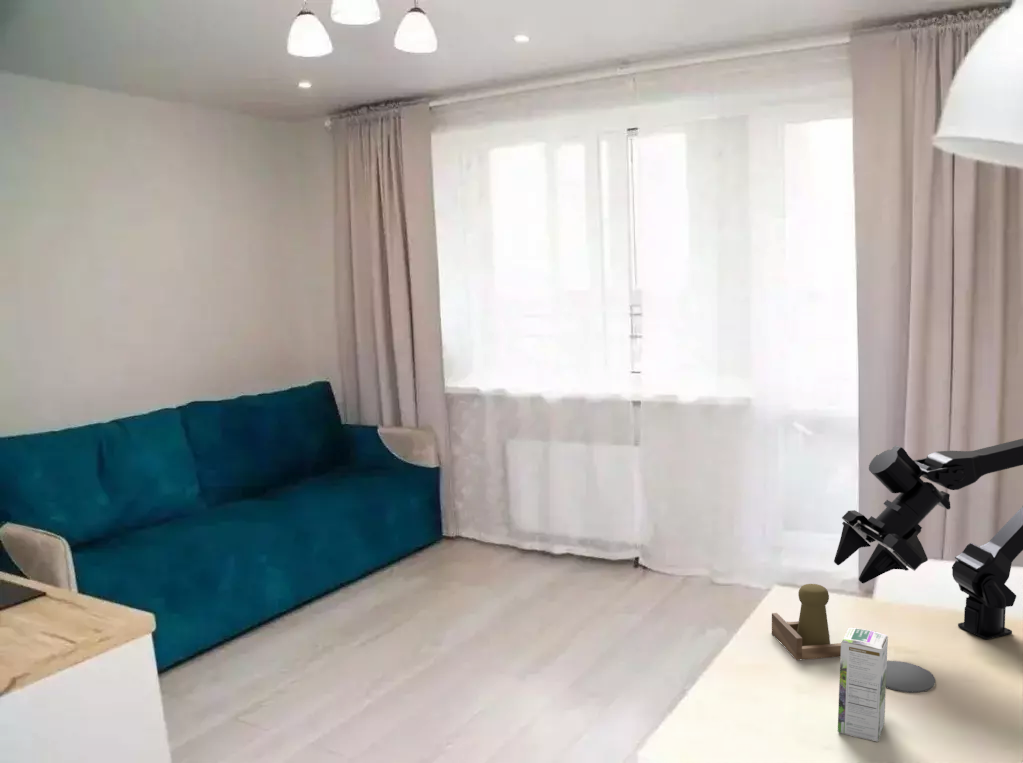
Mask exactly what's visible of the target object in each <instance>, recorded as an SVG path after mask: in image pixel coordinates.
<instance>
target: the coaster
mask: <svg viewBox="0 0 1023 763" xmlns="http://www.w3.org/2000/svg"><path fill="white" fill-rule="evenodd" d="M935 685H936V677H935V675H934V674H933V673H932V672H931V671H929V670H928V669H926V668H924V667H922V666H920V665H917V664H914V663H910V662H906V661H900V660H887V672H886V689H890V690H894V691H896V692H903V693H922V692H926V691H930V690H932V689H933V688H934V687H935Z"/></svg>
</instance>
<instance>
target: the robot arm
mask: <svg viewBox="0 0 1023 763" xmlns="http://www.w3.org/2000/svg"><path fill="white" fill-rule="evenodd" d="M1020 466H1023V438H1020V439H1016V440H1011V441H1007V442H1004V443H999V444H996V445H992V446H987V447H986V446H985V447H983V448H980V449H979V448H978V449H975V450H969V451H966V450H941V451H939V450H938V451H934V452H931V453H929V454H928V455H927V456H926V457H924V458H918V459H913V458H912V457H911V456H909V454H908V453H907V451H906V450H905V449H904V448H903V447H901V446H900V445H896V444H895V445H894V446H893V447H892V448H891V449H887V450H884V451H882V452H881V453H879V454H876V455H875V456H874V457H873V458H872V459H871V461H870V463H869V465H868V470H869V472H870V474H872V475H873V476H874V477H875V478H876V479H877V480H878V481H879V482H880V484H882V486H884V487H885V488H886V489H887V490H888V491H889V492H890V493H892V494H898V495H897V496H896V497H895V498H894V499H893V500H892V501H890V500H888V499H886V500H885V502H883V505H884V506H885V507H886V508H885V509H884V510H883V511H882V512H881V513H880V514H879V515H877V517H876V518H875V517H873V516H870V517H869V518H867V517H866V516H865V515H864V514H862V513H860V512H859V511H857V510H848V511H847V512H845V514H844V515H842V517H841V519H842V520H843V522H842V531H841V535H840V540H839V543H838V545H837V550H836V553H835V557H834V559H833V563H834V564H836V565H837V566H840V565H841V564H842V563H844V562H845V561H847V560H848V559H849V558H850V557H851V556H852V555H853V554H854V553H856V552H857V551H858V550H859V549H861V548H869V547H871V546H872V545H871V543H873V542H878V543H877V544H876V547H875V549H874V550H873V552H872V554H871V555H870V557H869V559H868V560H867V563H866V564H865V566H864V567H863V569H862V571H861V573H860V575H859V577H858V582H860V583H861V584H865V583H867V582H868V583H869V581H871V580H873V579H875V578H877V577H879V576H881V575H884V574H885V573H887V572H889V571H893V570H904V571H907V572H908V571H909V569H911V570H912V571H914V572H916V570H917V569H918V568H919V567H921V565H922V564H924V563H926V562H928V561H929V559H928V556H927V554H926V551H925V549H924V547H923V545H922V542H921V541H920V539H919V537H918V535H919V534H921V532H922V529H923V527H922V526H921V525H920V523H921V522H923V520H924V519H925V518H926V517H927V516H928V515H929V514H930V513H931V512H932V511H933V510H934V509H935V508H936V507H937V506H939V507H941V508H944V509H946V510H950V509H951V501H950V496H951V495H950V493H948V492H945V491H944V490H939V489H938V488H937V487H936V486H935V485H934V484H936V485H938V486H940V487H943V488H945V489H947V490H950V491H959V490H961V489H964V488H966V487H968V486H970V485H973V484H974V483H976V482H977V481H978V480H979V479H980V478H981V477H983V476H986V475H988V474H992V473H996V472H999V471H1005V470H1008V469H1012V468H1017V467H1020ZM921 477H922V478H923V479H926V480H927V481H924V480H923V479H922V478H921ZM933 483H934V484H933ZM1022 551H1023V505H1022V506H1021V507H1020V508H1019V509H1018V510H1017V511H1016V512H1015V514H1013V515H1012V516H1011V517H1010V519H1009V520H1008V521H1007V522H1006V523H1005V524H1004V525H1003V526H1002V527H1001V528H1000V529H999V531H997V532H996V534H995V535H994V536H993V537H992V538H991V539H990V540H989V541H988V542H986V543H984V544H981V545H979V546H978V545H977V544H975V543H972V542H970V543H969V544H967V545H966V546H965V548H964V549H963V550H962V552H960V554H958V555H956V556H955V557H954V559H956V560H955V562H954V563H953V564H952V566H951V570H952V571H951V572H952V574H951V575H952V578H953V580H954V582H956V583H957V584H958V586H959V590H960V591H961V592H962V593H965V594H967V595H968V596H967V597H965V607H964V614H963V615H964V616H963V617H964V618H963V622H959V623H958V624H957V627H958V628H960V629H963V630H965V631H967V632H969V633H971V634H974V635H975V636H976V637H977V636H978V637H980V638H981V639H983V640H989V639H990V640H991V639H995V638H998V637H1004V636H1008V635H1012V634H1013V631H1012V629H1009V628H1008V627H1006V608H1008V607H1010V608H1011V607H1014V604H1015V601H1016V599H1017V594H1016V593H1014V591H1012V590H1011V589H1010V587H1008V586H1007V585H1006V583H1007V582H1008V580H1009V578H1010V574H1011V570H1012V565H1013V564H1012V563H1013V562H1014V560H1015V559H1016V558H1017V557H1018V556H1019V555H1020V554H1021V553H1022Z"/></svg>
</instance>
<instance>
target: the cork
mask: <svg viewBox="0 0 1023 763" xmlns="http://www.w3.org/2000/svg"><path fill="white" fill-rule="evenodd" d="M797 592H798V593H797V594H798V601H800V603H801V604H800V611H799V617H798V621H799V623H798V629H797V633H798V634H799V635H800V636H801V637H802V646H811V645H824V644H831V639H830V630H829V623H828V614H827V607H826V606H827V604H828V603H829V600H830V595H829V591H828V589H827V588H826V587H825V586H823V585H821V584H818V583H806V584H803V585H801V586H800V588H799V589H798V591H797Z"/></svg>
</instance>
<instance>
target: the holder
mask: <svg viewBox="0 0 1023 763" xmlns="http://www.w3.org/2000/svg"><path fill="white" fill-rule="evenodd" d="M798 623H799V620H798V621H788V622H787V621H786V620H785V619H784V618H783V617H782V616H781V615H780V614H779V613H778V612H772V613H771V635H772V636H773V635H774V636H775V637H776V638H777V639H778V640H779V641H780V642H781V643H782V644H783V645H784V646H785V647H786V648H785V647H784V646H783V645H782V644H781V643H780V642H779V641H778V640H777V639H776V638H775V637H774V636H773V637H774V638H775V639H776V640H777V641H778V642H779V643H780V644H781V645H782V646H783V647H784V648H785V650H786V651H787V650H788V651H789V652H790V653H791V654H792V655H793V656H794V657H793V656H792V655H791V654H790V653H789V652H788V651H787V652H788V653H789V654H790V655H791V656H792V657H793V658H794V659H795V660H796V661H803V659H805V660H816V659H826V658H827V659H828V658H841V642H839V643H830V644H824V645H811V646H802V637H801V636H800V635H799V634H798V633H797V629H798ZM800 659H802V660H800Z"/></svg>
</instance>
